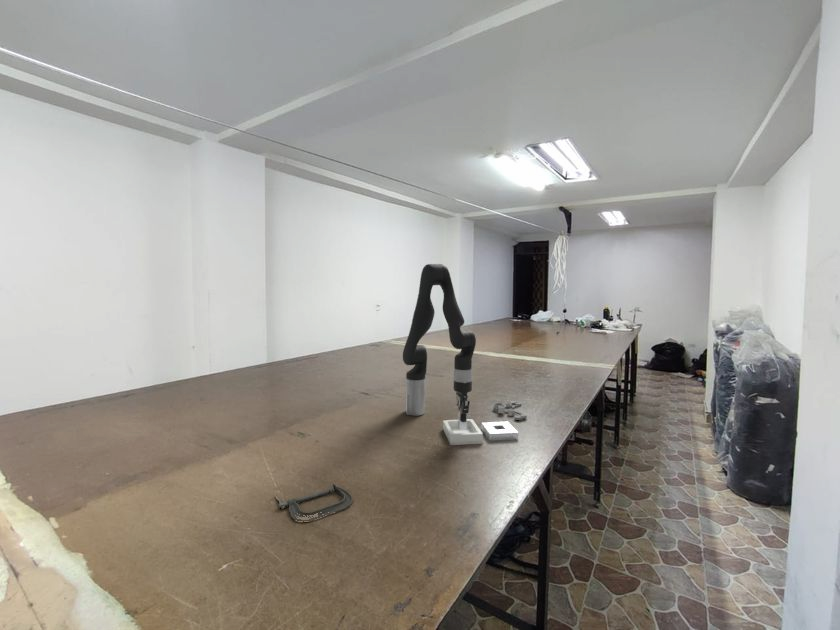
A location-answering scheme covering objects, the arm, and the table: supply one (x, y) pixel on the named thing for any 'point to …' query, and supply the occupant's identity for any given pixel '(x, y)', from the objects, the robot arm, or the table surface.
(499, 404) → the pulley system
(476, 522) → the table surface
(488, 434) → the block
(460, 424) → the lock pin
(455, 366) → the robot arm
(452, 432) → the parts tray
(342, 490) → the c clamp
